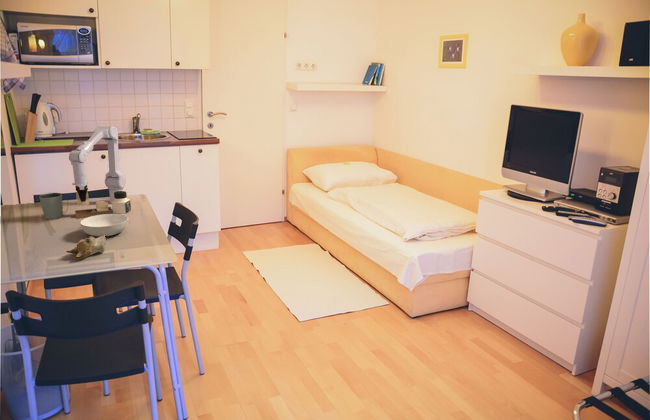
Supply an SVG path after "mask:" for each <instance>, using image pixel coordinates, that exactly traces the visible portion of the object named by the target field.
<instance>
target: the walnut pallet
mask: <svg viewBox="0 0 650 420" xmlns="http://www.w3.org/2000/svg"><path fill="white" fill-rule="evenodd" d="M108 209H109V210H107V211H98V212H97V208H89V209H88V208H87V209H78V210H74V215H75V219H76V220H79V219H85V218H88V217H91V216H96V215H103V214H113V211H112V206H108Z"/></svg>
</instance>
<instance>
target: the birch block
mask: <svg viewBox="0 0 650 420" xmlns="http://www.w3.org/2000/svg"><path fill="white" fill-rule="evenodd" d="M75 197H76V198H75V199H76V205H77V206H78V207H79V206H86V205H87V206H88V205H90V199H89V193H88V190H87V193H86V201H85V202H81V200H80V197H79V194H78V192H77V191H76V192H75Z"/></svg>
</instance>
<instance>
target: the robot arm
mask: <svg viewBox="0 0 650 420" xmlns="http://www.w3.org/2000/svg"><path fill="white" fill-rule="evenodd" d="M100 140H103V141H105V142H106V143H107V155H108V156H107V159H108V172H106V174H105V178H104V179H105V180H104V184H105V187H107V189H108V191H109V192H108V193H109V201H108V204H112V202H113V201H114V200H115V198H114V192H116V191H124V188H125V187H126V184H127V181H126V177H125V174H124V173H123V172H121V171H120V157H119V130H118V129H117V127H115V126H112V125H111V126H109V125H97V126H96V127H95V128H94V132H93V133H92V135H91V136H90V137H89V139H88V140H87V141H86V140H85V141H82V142H81V144H80V145H78V147H76V149H74V150H71V151H70V152H69V154H68V160H69V161H70V165H72V170H73V179H74V182H73V183H71V185H72V186H75V191H76V192H78V194H79V197H80V200H81V202H85V201H86V193H87V191H88V190H89V188H88V184H89V183H88V178H87V169H86V162H87V160H88V156H89V154H90V153H91V152H92V151H93V150H94V146H95V145H96V144H97V143H98V142H99V141H100Z"/></svg>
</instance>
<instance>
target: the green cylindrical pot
mask: <svg viewBox="0 0 650 420" xmlns="http://www.w3.org/2000/svg"><path fill="white" fill-rule="evenodd" d="M38 198H39V201H40V205H41V209H42V213H43V217H44V219H46V220H58V219H61V218H62V217H63V216H64V210H63V209H64V207H63V194H62V193H60V192H48V193H43V194H40V195H39V197H38Z"/></svg>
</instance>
